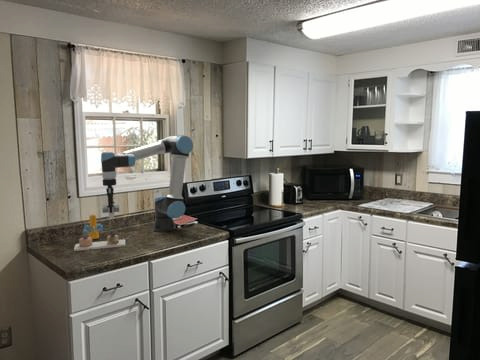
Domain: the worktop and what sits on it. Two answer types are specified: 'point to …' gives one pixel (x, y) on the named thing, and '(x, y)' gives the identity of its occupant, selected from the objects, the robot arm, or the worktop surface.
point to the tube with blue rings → (93, 227)
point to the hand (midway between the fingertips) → (111, 216)
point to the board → (100, 245)
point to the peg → (85, 240)
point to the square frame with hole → (115, 209)
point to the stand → (112, 238)
